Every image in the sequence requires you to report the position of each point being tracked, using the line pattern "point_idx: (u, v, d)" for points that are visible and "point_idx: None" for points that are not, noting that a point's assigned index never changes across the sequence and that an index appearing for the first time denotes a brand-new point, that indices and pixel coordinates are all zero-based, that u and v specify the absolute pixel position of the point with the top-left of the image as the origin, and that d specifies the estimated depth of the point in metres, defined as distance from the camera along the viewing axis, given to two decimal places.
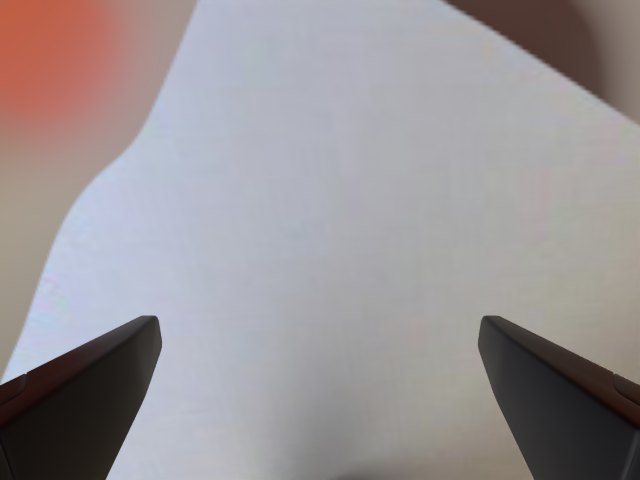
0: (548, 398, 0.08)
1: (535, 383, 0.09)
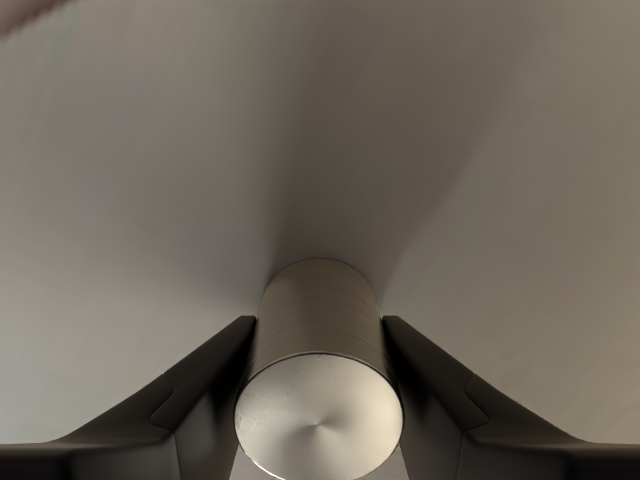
0: (414, 398, 0.08)
1: (407, 383, 0.09)
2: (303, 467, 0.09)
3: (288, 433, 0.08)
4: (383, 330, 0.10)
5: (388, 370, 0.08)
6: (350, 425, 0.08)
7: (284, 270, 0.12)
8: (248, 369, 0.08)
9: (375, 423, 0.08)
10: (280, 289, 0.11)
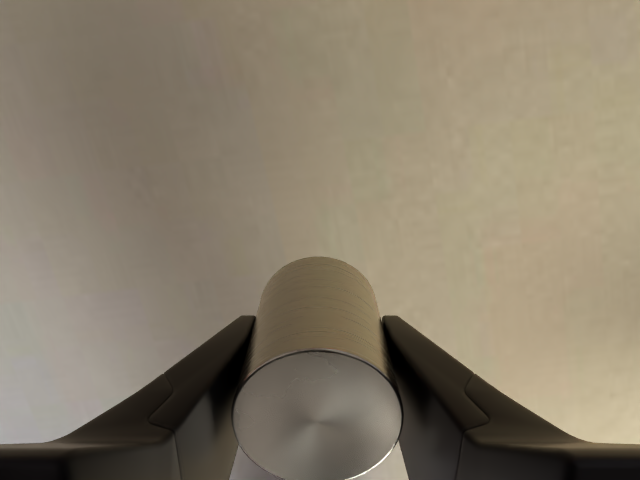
0: (414, 398, 0.08)
1: (407, 383, 0.09)
2: (302, 465, 0.09)
3: (287, 431, 0.08)
4: (382, 328, 0.10)
5: (387, 368, 0.08)
6: (349, 423, 0.08)
7: (283, 268, 0.12)
8: (246, 367, 0.08)
9: (374, 421, 0.08)
10: (279, 287, 0.11)
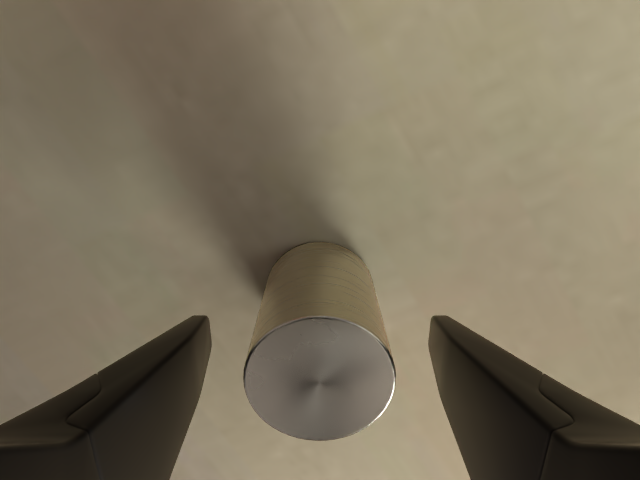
0: (480, 398, 0.08)
1: (470, 383, 0.09)
2: (306, 422, 0.10)
3: (293, 391, 0.09)
4: (378, 305, 0.11)
5: (381, 334, 0.09)
6: (347, 383, 0.09)
7: (288, 253, 0.13)
8: (257, 334, 0.09)
9: (369, 382, 0.09)
10: (284, 268, 0.12)
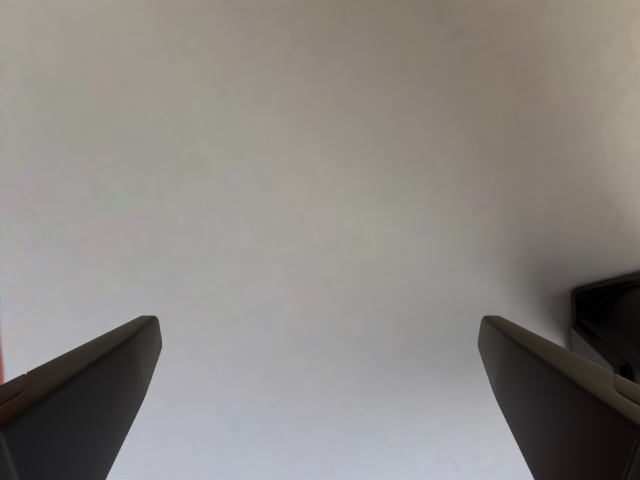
0: (548, 398, 0.08)
1: (535, 383, 0.09)
2: None
3: None
4: None
5: None
6: None
7: None
8: None
9: None
10: None
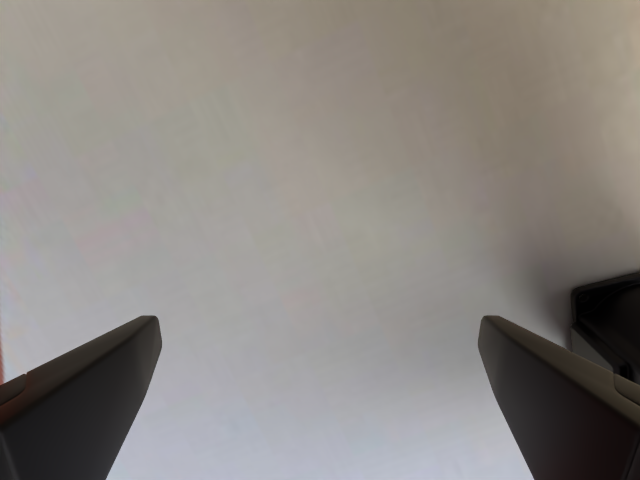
0: (548, 398, 0.08)
1: (535, 383, 0.09)
2: None
3: None
4: None
5: None
6: None
7: None
8: None
9: None
10: None
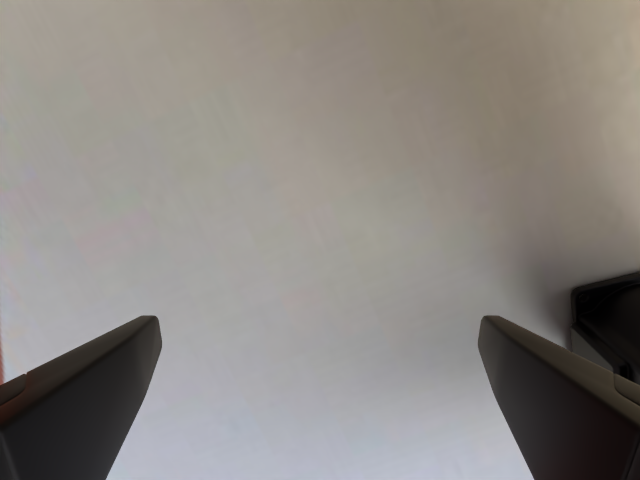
0: (548, 398, 0.08)
1: (535, 383, 0.09)
2: None
3: None
4: None
5: None
6: None
7: None
8: None
9: None
10: None
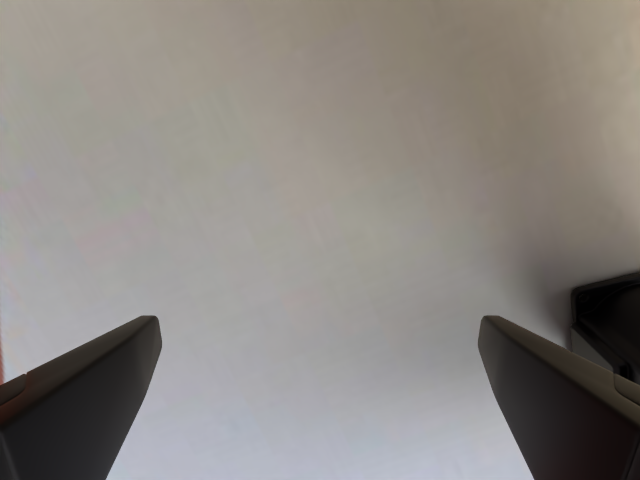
0: (548, 398, 0.08)
1: (535, 383, 0.09)
2: None
3: None
4: None
5: None
6: None
7: None
8: None
9: None
10: None
